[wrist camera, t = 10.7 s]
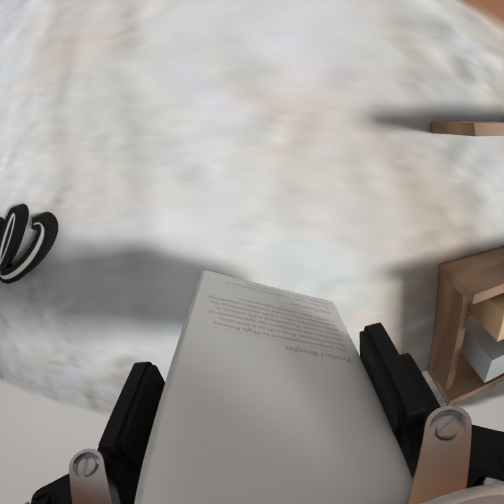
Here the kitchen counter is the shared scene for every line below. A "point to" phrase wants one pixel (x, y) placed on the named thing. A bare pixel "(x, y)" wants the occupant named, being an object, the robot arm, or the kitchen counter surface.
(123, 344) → the kitchen counter surface
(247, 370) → the skincare box
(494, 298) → the oak offcut
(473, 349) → the slate offcut
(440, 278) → the walnut rack
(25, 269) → the nameplate
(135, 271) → the kitchen counter surface
